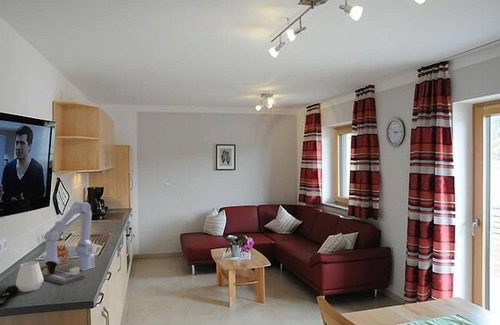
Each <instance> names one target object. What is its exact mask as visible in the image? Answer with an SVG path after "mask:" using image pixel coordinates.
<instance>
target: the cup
mask: <svg viewBox="0 0 500 325" xmlns="http://www.w3.org/2000/svg"><path fill="white" fill-rule="evenodd" d="M42 273H43V272H42V269H41V266H40V263H39V261H27V262H24V263H21V264H20V265H19V269H18V273H17V276H16V280H15V286H16V288H17V289H19V291H20V292H23V293H26V292H28V293H29V292H32V291H36V290H39V289H40V288H41V286H42V284H43V283H44V280H45V279H43V275H42Z"/></svg>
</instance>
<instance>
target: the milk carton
mask: <svg viewBox="0 0 500 325" xmlns="http://www.w3.org/2000/svg"><path fill="white" fill-rule="evenodd" d="M67 252H68V251H67V247H66V240H65V239H64V238H61V236H60V235H59V238H58V239H57V258H58V259H60V262H61V263H58V264H57V265H56V268H55V269H58V268H60V267H64V266H69V265H70V263H69V259H68V253H67ZM68 264H69V265H68Z"/></svg>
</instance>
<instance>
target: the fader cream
mask: <svg viewBox="0 0 500 325" xmlns="http://www.w3.org/2000/svg"><path fill="white" fill-rule="evenodd" d="M69 271H70V275H72V276H73V275H77V274H81V270H80V268H78V266H75V267H72V268H70V269H69Z"/></svg>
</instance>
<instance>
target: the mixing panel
mask: <svg viewBox="0 0 500 325" xmlns="http://www.w3.org/2000/svg"><path fill="white" fill-rule="evenodd" d="M42 275H43V279H44V280H46V281H49V282H53V283H56V284H60V285H63V286H65V285H68V284H71V283H75V282H77V281H80V280H82V279H85V274H81V273H80V274H77V275H73V276H72V275H70V270H66V269H62V268H60V267H57V268H55V272H54V273H53V274H48V275H45V274H44V272H42Z"/></svg>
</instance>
